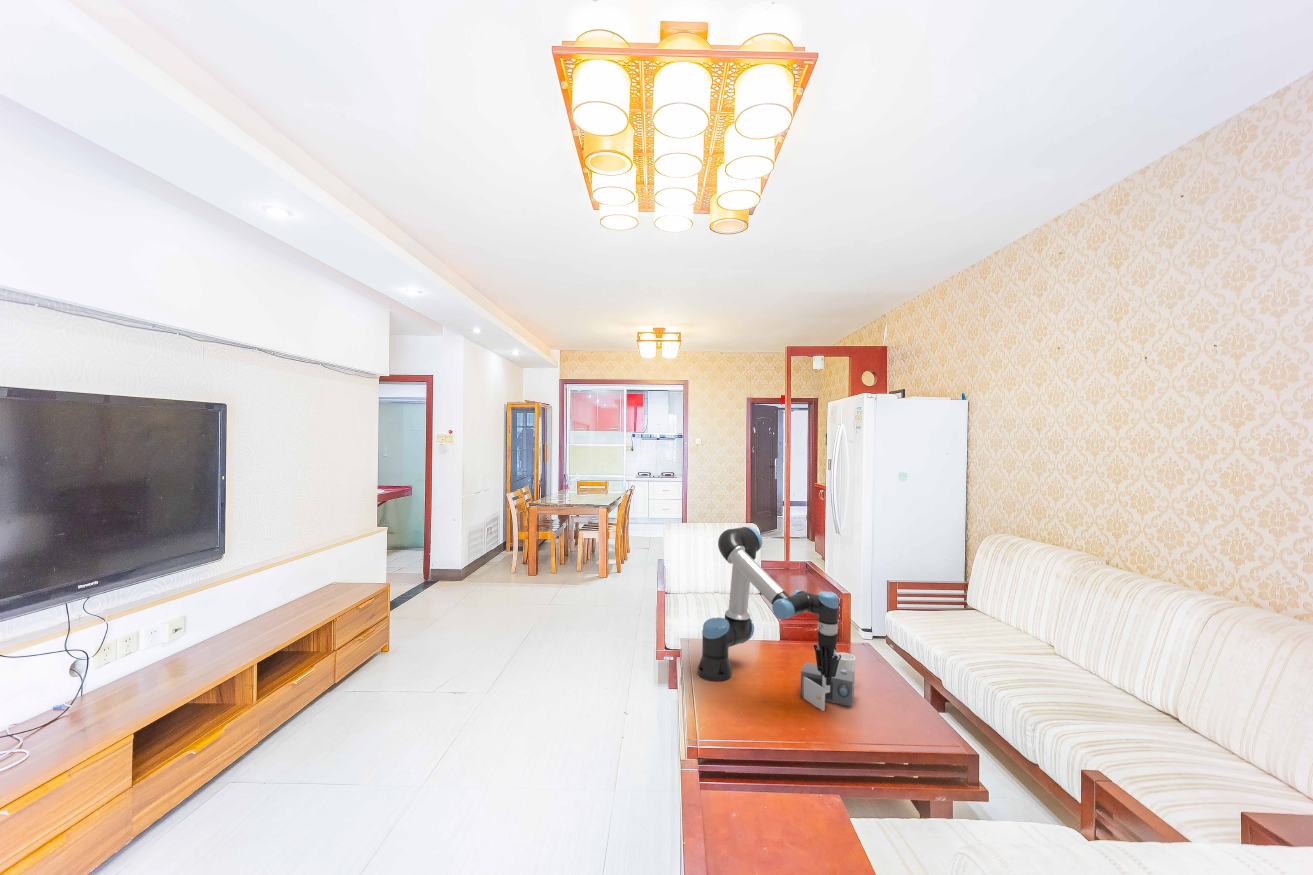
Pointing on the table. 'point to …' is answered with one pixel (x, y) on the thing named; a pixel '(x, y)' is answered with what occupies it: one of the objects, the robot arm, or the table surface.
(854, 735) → the table surface
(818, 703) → the door
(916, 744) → the table surface
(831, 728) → the table surface
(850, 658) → the mug
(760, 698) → the table surface
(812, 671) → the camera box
